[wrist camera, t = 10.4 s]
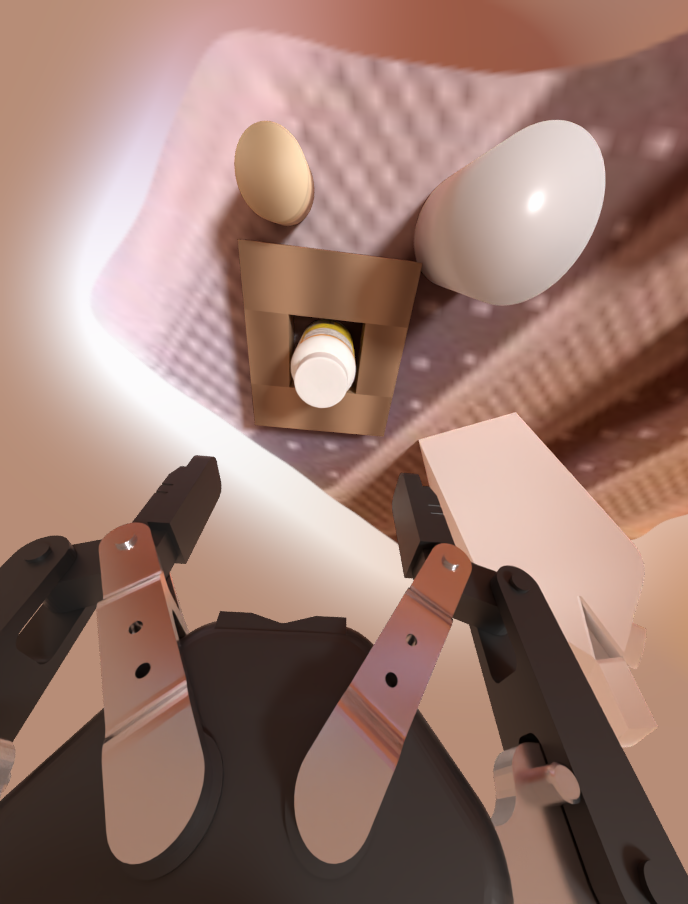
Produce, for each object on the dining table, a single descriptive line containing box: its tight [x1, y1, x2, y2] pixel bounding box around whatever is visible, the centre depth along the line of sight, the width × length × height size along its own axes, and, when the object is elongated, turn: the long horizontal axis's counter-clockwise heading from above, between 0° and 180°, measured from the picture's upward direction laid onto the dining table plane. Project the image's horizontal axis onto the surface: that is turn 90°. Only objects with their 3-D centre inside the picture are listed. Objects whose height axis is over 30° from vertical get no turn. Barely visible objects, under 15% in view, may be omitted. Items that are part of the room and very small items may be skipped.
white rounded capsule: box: [414, 120, 605, 305], centre depth 19 cm, size 8×8×10 cm
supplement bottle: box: [291, 319, 356, 408], centre depth 25 cm, size 5×5×10 cm
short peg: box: [234, 121, 314, 226], centre depth 20 cm, size 4×4×5 cm
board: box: [238, 239, 422, 436], centre depth 27 cm, size 14×16×3 cm
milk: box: [419, 412, 658, 747], centre depth 27 cm, size 12×12×26 cm
